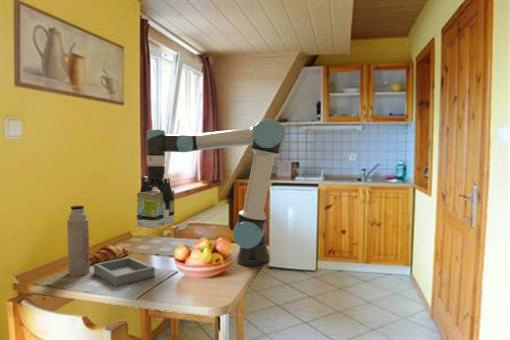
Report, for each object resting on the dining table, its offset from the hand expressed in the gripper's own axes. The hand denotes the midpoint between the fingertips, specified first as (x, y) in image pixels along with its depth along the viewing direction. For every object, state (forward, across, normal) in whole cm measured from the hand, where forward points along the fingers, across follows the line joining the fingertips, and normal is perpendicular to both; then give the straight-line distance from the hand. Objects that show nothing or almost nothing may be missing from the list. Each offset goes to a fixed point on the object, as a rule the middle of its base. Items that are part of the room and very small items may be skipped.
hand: (156, 215), depth 173 cm
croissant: (+23, -26, -3) cm, 35 cm away
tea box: (+4, 0, 0) cm, 4 cm away
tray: (+22, -2, -16) cm, 28 cm away
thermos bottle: (+23, -21, -23) cm, 39 cm away
